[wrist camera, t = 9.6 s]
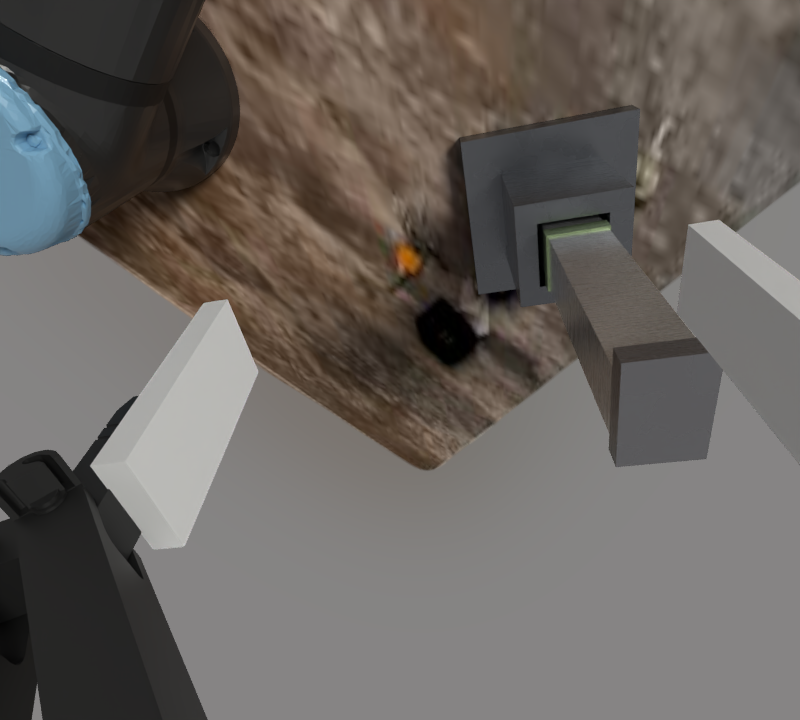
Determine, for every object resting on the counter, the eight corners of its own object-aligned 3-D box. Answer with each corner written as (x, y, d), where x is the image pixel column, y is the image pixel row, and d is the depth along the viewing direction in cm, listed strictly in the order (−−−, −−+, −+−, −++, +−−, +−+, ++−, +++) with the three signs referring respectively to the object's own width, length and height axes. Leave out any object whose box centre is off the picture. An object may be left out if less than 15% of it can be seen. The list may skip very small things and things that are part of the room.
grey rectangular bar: (538, 276, 42) (612, 467, 25) (535, 203, 39) (617, 363, 21) (593, 268, 41) (709, 458, 24) (594, 194, 38) (730, 350, 21)
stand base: (477, 285, 52) (486, 344, 43) (459, 137, 44) (465, 170, 35) (623, 263, 50) (666, 321, 41) (631, 105, 42) (686, 131, 33)
